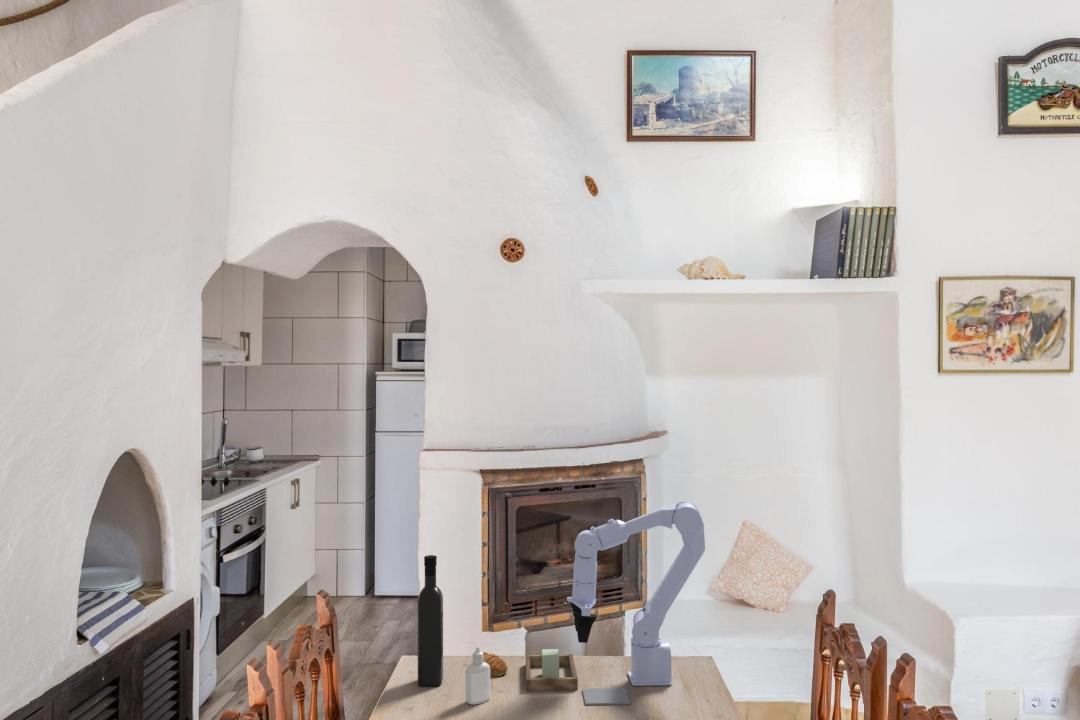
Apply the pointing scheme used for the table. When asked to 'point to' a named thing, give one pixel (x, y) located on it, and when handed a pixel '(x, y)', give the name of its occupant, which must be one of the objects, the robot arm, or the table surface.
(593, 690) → the mat
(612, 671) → the table surface
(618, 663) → the table surface
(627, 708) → the table surface
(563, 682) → the box
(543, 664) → the wood block
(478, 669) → the eye dropper bottle
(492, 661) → the pastry
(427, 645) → the wine bottle
